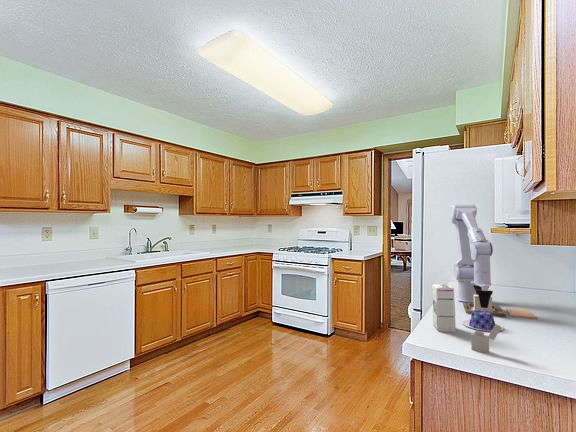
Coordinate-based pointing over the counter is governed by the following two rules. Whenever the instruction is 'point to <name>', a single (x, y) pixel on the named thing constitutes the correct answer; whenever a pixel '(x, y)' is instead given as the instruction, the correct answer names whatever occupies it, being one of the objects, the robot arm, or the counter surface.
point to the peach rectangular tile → (520, 313)
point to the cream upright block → (478, 306)
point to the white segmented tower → (444, 308)
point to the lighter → (483, 339)
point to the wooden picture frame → (498, 312)
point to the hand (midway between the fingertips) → (482, 305)
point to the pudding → (481, 320)
